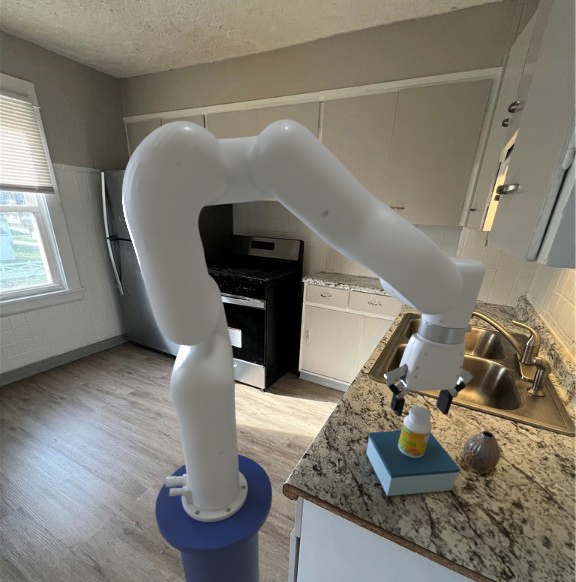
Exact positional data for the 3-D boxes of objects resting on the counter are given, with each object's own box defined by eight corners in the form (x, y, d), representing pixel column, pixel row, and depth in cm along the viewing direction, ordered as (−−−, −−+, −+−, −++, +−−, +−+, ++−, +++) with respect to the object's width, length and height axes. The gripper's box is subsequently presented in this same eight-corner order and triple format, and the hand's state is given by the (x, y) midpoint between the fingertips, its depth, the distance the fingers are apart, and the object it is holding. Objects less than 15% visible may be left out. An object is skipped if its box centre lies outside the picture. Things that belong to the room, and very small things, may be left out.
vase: (474, 450, 75) (484, 421, 71) (501, 471, 69) (514, 440, 66) (453, 458, 73) (463, 428, 69) (479, 480, 67) (492, 448, 63)
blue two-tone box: (386, 497, 62) (391, 475, 60) (365, 452, 74) (368, 432, 71) (453, 490, 64) (460, 469, 62) (422, 448, 75) (427, 428, 73)
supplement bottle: (392, 447, 67) (401, 410, 63) (406, 437, 70) (415, 400, 66) (416, 462, 63) (426, 423, 59) (429, 450, 66) (440, 413, 62)
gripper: (472, 323, 59) (447, 399, 67) (385, 323, 57) (370, 402, 64) (501, 339, 53) (470, 421, 60) (404, 339, 50) (385, 425, 57)
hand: (418, 411), depth 62 cm, fingers open, 9 cm apart
